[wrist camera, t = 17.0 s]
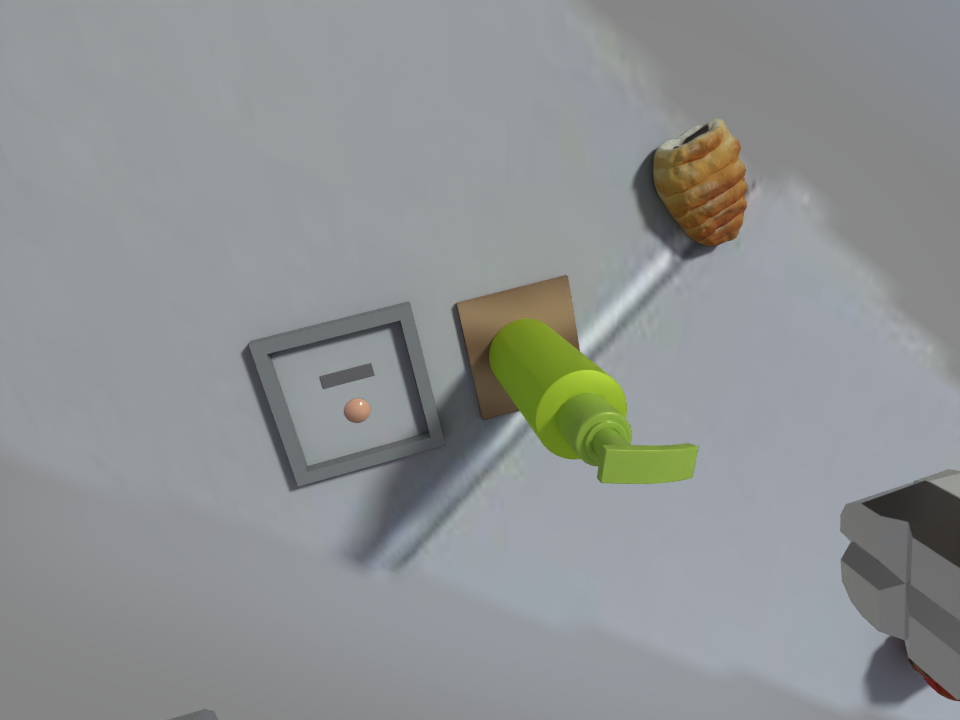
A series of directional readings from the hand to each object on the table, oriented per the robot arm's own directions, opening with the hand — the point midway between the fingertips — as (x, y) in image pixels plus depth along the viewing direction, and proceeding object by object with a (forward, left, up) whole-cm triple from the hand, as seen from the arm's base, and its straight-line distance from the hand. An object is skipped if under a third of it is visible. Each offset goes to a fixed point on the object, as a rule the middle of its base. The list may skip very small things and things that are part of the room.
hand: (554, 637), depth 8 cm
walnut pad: (+11, +9, -41) cm, 43 cm away
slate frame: (+11, -5, -41) cm, 43 cm away
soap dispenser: (+11, +9, -41) cm, 43 cm away
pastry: (+1, +25, -42) cm, 49 cm away
